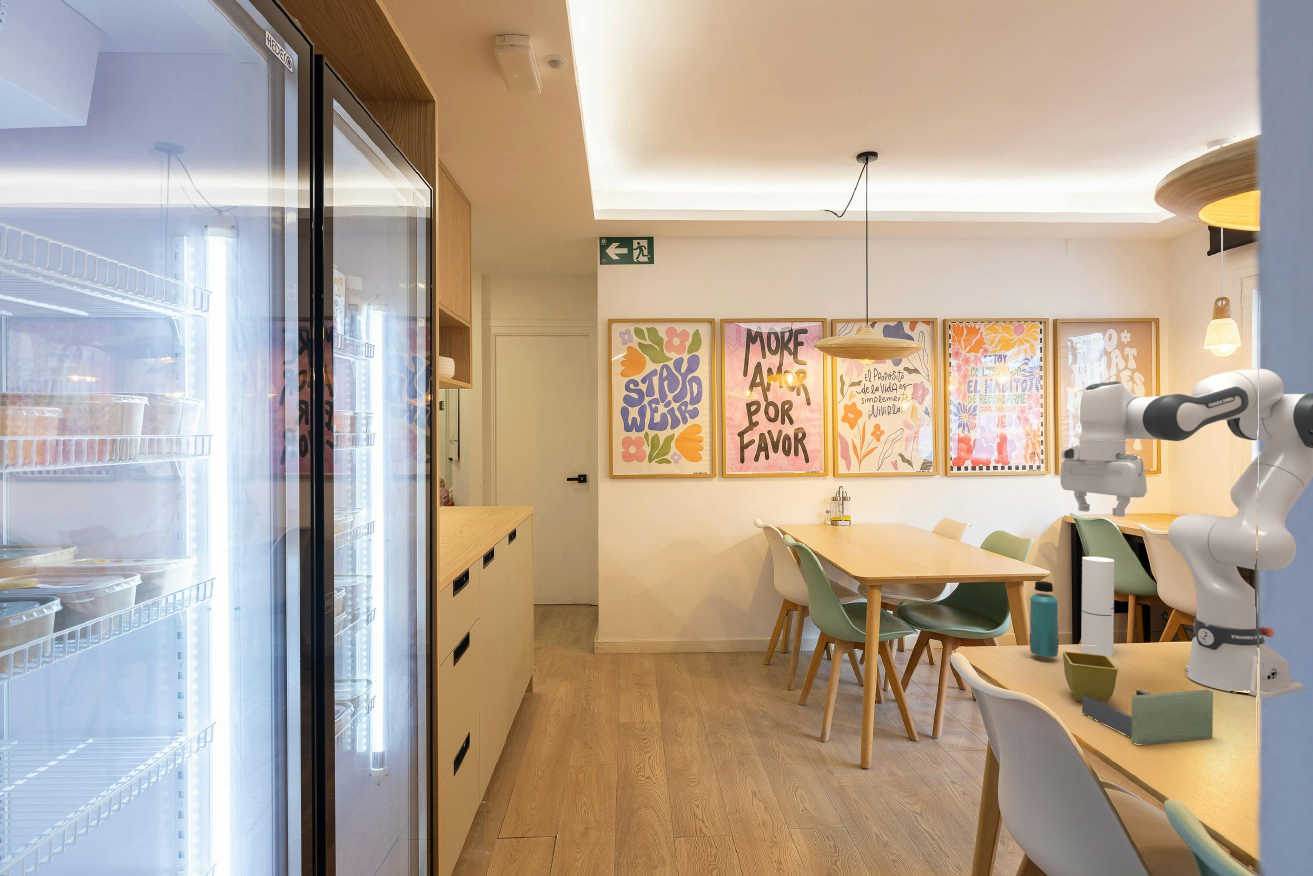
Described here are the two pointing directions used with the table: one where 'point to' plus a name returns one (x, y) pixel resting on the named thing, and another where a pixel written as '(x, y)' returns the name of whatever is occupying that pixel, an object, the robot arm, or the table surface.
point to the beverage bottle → (1044, 621)
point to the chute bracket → (1158, 716)
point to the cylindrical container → (1097, 605)
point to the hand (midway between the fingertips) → (1100, 513)
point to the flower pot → (1090, 675)
